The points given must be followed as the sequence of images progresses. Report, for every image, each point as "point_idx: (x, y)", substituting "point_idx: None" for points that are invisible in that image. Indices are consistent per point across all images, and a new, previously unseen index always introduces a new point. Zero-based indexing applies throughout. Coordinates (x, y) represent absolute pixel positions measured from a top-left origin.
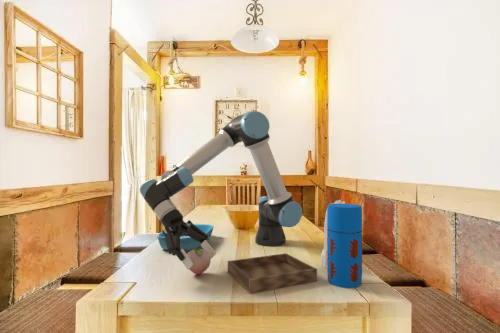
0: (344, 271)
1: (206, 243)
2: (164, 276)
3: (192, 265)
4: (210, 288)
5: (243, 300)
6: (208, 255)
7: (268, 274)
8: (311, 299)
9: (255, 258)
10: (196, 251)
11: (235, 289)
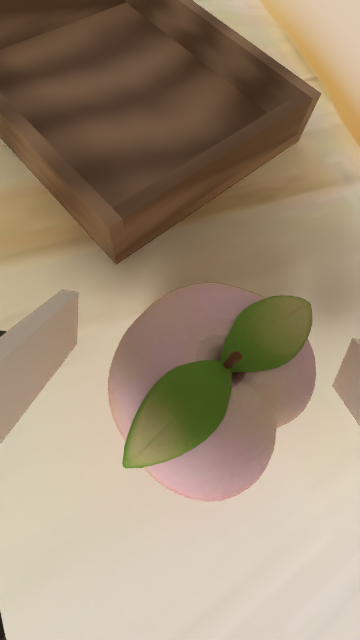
0: None
1: (19, 352)
2: (297, 609)
3: (353, 348)
4: (322, 268)
5: (352, 148)
6: (208, 283)
7: (133, 101)
8: (262, 21)
9: (23, 117)
10: (296, 342)
11: (288, 186)
